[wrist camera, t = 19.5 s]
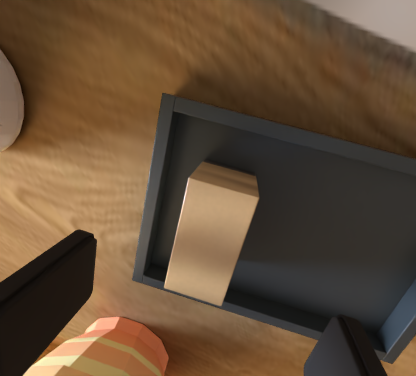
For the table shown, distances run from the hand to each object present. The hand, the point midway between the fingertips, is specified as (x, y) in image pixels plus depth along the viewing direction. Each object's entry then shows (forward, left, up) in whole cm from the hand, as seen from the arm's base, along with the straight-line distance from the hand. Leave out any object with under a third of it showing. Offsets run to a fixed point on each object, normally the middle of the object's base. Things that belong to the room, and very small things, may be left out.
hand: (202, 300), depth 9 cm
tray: (-5, 0, -9) cm, 10 cm away
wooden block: (0, 0, -8) cm, 8 cm away
